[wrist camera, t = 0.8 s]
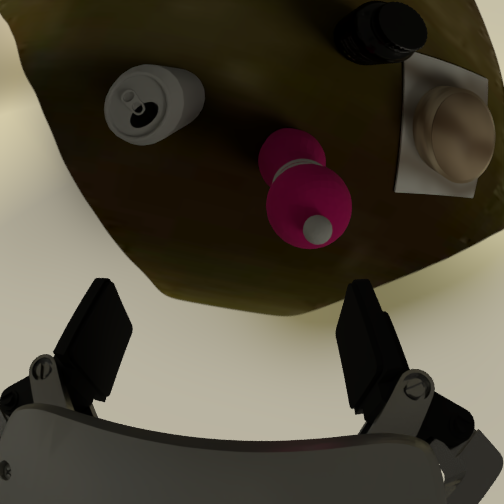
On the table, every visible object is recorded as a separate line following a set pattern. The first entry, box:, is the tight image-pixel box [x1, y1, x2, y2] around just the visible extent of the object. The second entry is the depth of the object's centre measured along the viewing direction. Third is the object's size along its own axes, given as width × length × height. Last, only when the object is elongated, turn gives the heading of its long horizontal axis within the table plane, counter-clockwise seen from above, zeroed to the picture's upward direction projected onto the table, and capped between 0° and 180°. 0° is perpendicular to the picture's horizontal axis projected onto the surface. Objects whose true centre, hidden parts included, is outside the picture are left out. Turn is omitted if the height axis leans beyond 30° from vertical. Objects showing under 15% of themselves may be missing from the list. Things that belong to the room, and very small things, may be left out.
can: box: [104, 64, 205, 145], centre depth 23 cm, size 8×8×12 cm
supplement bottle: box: [334, 1, 427, 65], centre depth 18 cm, size 7×7×12 cm
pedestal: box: [394, 52, 495, 198], centre depth 26 cm, size 20×16×5 cm
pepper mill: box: [258, 128, 352, 249], centre depth 24 cm, size 7×7×20 cm
